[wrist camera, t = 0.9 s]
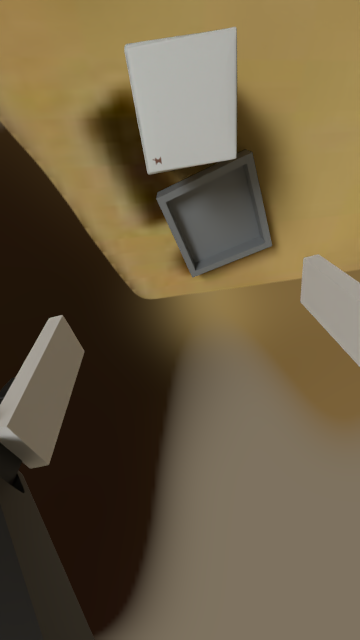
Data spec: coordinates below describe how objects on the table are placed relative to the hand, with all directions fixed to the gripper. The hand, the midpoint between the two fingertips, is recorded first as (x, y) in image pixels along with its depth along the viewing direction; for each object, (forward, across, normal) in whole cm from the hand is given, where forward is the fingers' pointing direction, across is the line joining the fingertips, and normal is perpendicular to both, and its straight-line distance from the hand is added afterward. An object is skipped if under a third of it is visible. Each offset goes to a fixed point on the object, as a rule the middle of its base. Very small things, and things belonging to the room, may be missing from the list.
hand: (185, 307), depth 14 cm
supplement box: (+24, +4, +9) cm, 26 cm away
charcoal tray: (+24, +6, -2) cm, 25 cm away
